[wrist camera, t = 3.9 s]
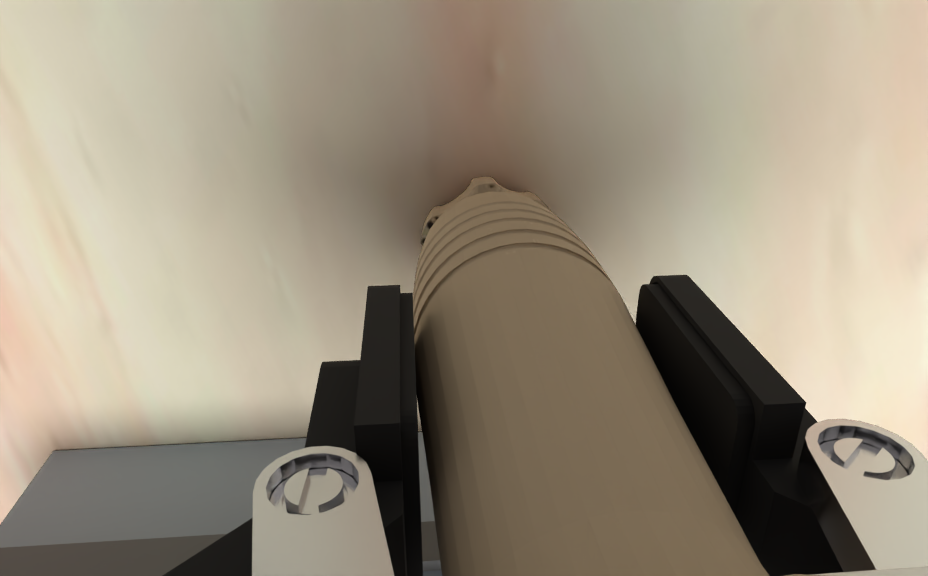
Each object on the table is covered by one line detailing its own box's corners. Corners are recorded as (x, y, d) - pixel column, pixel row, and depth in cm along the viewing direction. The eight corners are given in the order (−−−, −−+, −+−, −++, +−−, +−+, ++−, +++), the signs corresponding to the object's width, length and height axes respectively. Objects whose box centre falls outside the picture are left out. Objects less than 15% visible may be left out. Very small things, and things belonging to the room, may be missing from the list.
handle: (353, 311, 18) (218, 1317, 5) (443, 77, 16) (694, 713, 2) (519, 364, 19) (800, 1298, 6) (625, 152, 17) (1515, 881, 3)
